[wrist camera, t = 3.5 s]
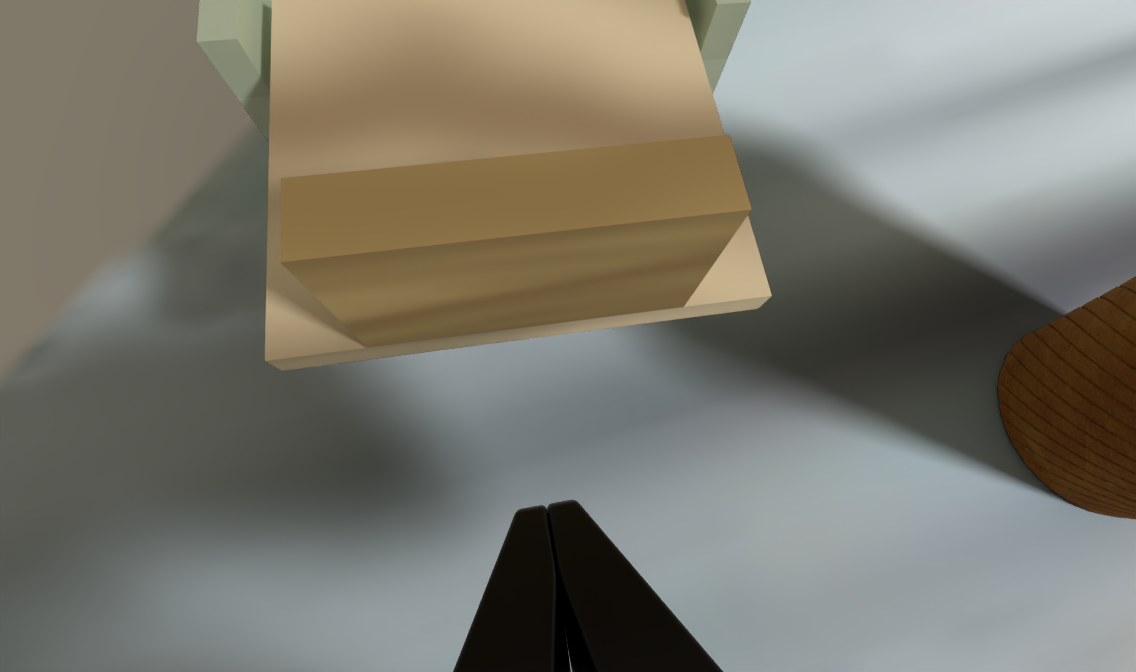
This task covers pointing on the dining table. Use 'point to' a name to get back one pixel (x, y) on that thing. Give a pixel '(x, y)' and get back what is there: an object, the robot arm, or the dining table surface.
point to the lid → (493, 176)
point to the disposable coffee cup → (1078, 403)
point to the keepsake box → (243, 44)
